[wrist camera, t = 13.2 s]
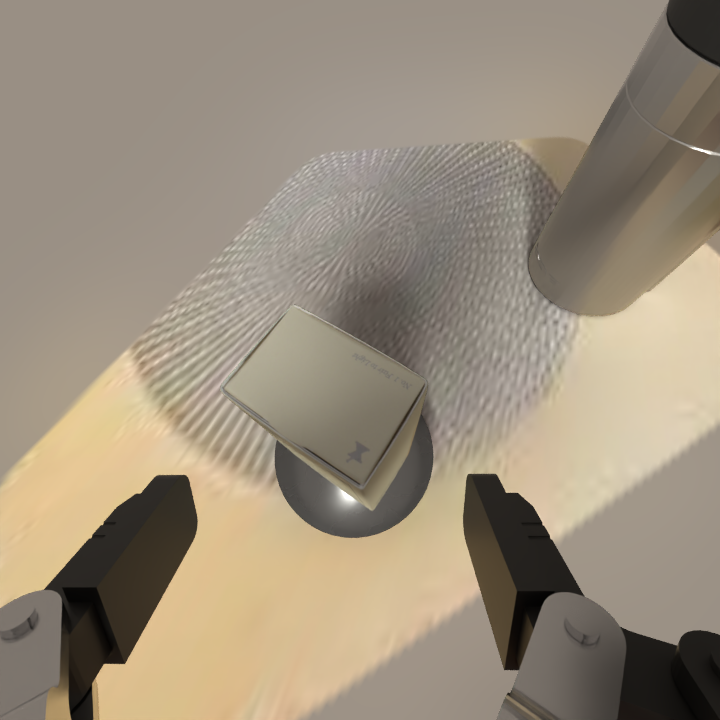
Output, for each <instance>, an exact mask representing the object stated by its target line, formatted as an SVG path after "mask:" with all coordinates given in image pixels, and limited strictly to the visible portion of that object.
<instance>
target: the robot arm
mask: <svg viewBox="0 0 720 720" xmlns="http://www.w3.org/2000/svg"><path fill="white" fill-rule="evenodd" d="M719 230H720V0H669V3H668V4H667V5H666V7H665V9H664V11H663V13H662V14H661V16H660V18H659V20H658V22H657V23H656V25H655V27H654V29H653V31H652V32H651V34H650V36H649V38H648V40H647V42H646V43H645V45H644V47H643V49H642V51H641V52H640V54H639V56H638V58H637V60H636V61H635V63H634V65H633V67H632V69H631V70H630V73H629V75H628V77H627V78H626V80H625V82H624V84H623V86H622V87H621V89H620V91H619V93H618V95H617V96H616V98H615V100H614V102H613V104H612V105H611V107H610V109H609V111H608V113H607V115H606V116H605V118H604V120H603V122H602V123H601V125H600V127H599V129H598V131H597V133H596V135H595V136H594V138H593V140H592V142H591V143H590V145H589V147H588V149H587V151H586V152H585V154H584V156H583V158H582V160H581V161H580V163H579V165H578V167H577V169H576V171H575V172H574V174H573V176H572V178H571V180H570V181H569V183H568V185H567V187H566V189H565V190H564V192H563V194H562V196H561V198H560V200H559V201H558V203H557V205H556V207H555V209H554V210H553V212H552V214H551V216H550V218H549V219H548V221H547V223H546V225H545V227H544V229H543V230H542V232H541V234H540V236H539V238H538V240H537V242H536V243H535V245H534V247H533V249H532V251H531V253H530V256H529V261H528V262H529V272H530V275H531V278H532V280H533V282H534V284H535V285H536V287H537V288H538V290H539V291H540V292H541V293H542V294H543V295H544V296H545V297H546V298H547V299H549V300H550V301H551V302H553V303H554V304H556V305H558V306H559V307H561V308H563V309H565V310H568V311H571V312H573V313H576V314H581V315H587V316H606V315H611V314H615V313H617V312H620V311H622V310H624V309H626V308H627V307H628V306H630V305H631V304H632V303H633V302H634V301H636V300H637V299H638V298H639V297H640V296H641V295H642V294H643V293H644V292H648V291H651V290H652V289H653V288H654V287H655V286H657V285H658V284H659V283H660V282H661V281H662V280H663V279H664V278H666V277H667V276H668V275H669V274H670V273H671V272H672V271H674V270H675V269H676V268H677V267H678V266H679V265H680V264H682V263H683V262H684V261H685V260H686V259H687V258H688V257H689V256H691V255H692V254H693V253H694V252H695V251H696V250H697V249H699V248H700V247H701V246H702V245H703V244H704V243H705V242H706V241H708V240H709V239H710V238H711V237H712V236H713V235H714V234H716V233H717V232H718V231H719ZM197 522H198V520H197V514H196V509H195V505H194V500H193V496H192V491H191V487H190V482H189V479H188V477H187V476H186V475H158V476H156V477H155V478H154V479H153V480H152V481H151V482H150V483H149V484H148V486H147V487H146V488H145V489H144V490H143V492H142V493H141V494H135V495H134V496H132V497H131V498H129V499H128V500H126V501H125V502H124V503H122V504H121V505H119V506H118V507H117V508H116V509H115V510H114V511H113V512H112V513H111V515H110V516H109V517H108V518H107V519H106V520H105V521H104V524H103V525H101V526H100V527H99V528H98V529H97V530H96V532H95V533H94V534H93V535H92V538H91V539H88V541H87V542H86V543H85V544H84V545H83V546H82V547H81V548H80V550H79V551H78V552H77V553H76V554H75V555H74V556H73V557H72V559H71V560H70V561H69V562H68V563H67V564H66V565H65V567H64V568H63V569H62V570H61V571H60V572H59V573H58V574H57V576H56V577H55V578H54V579H53V580H52V581H51V582H50V583H49V585H48V586H47V587H46V588H45V589H44V590H41V591H35V592H32V593H29V594H26V595H24V596H21V597H19V598H17V599H15V600H13V601H11V602H10V603H8V604H6V605H5V606H3V607H2V608H0V720H99V701H98V686H97V682H96V679H95V678H96V676H97V674H98V673H99V671H100V669H101V668H102V666H103V664H125V663H126V661H127V659H128V657H129V656H130V654H131V652H132V650H133V648H134V647H135V645H136V643H137V641H138V639H139V637H140V636H141V634H142V632H143V630H144V628H145V627H146V625H147V623H148V621H149V619H150V618H151V616H152V614H153V612H154V610H155V609H156V607H157V605H158V603H159V601H160V600H161V598H162V596H163V594H164V592H165V591H166V589H167V587H168V585H169V583H170V582H171V580H172V578H173V576H174V574H175V573H176V571H177V569H178V567H179V565H180V564H181V562H182V560H183V558H184V556H185V555H186V553H187V551H188V549H189V547H190V546H191V544H192V542H193V540H194V538H195V535H196V531H197ZM463 527H464V535H465V540H466V544H467V547H468V550H469V554H470V557H471V560H472V564H473V567H474V570H475V574H476V577H477V580H478V584H479V587H480V591H481V594H482V597H483V601H484V604H485V607H486V611H487V614H488V617H489V621H490V624H491V627H492V630H493V634H494V637H495V641H496V644H497V648H498V651H499V654H500V658H501V661H502V664H503V668H504V670H519V672H518V674H517V678H516V680H515V683H514V686H513V688H512V690H511V693H508V694H507V695H506V697H505V699H504V702H503V704H502V706H501V709H500V711H499V714H498V717H497V720H720V635H718V634H715V633H711V632H708V631H701V630H699V631H690V632H687V633H685V634H684V635H683V636H682V637H681V639H680V641H679V643H678V646H676V645H673V644H669V643H666V642H663V641H660V640H656V639H653V638H650V637H646V636H643V635H640V634H637V633H634V632H631V631H628V630H626V629H624V628H622V627H620V626H619V625H618V623H617V622H616V621H615V619H614V618H613V617H612V616H611V615H610V614H609V613H608V612H607V611H606V610H605V609H604V608H602V607H601V606H600V605H598V604H597V603H595V602H594V601H592V600H590V599H588V598H586V597H585V596H584V595H583V593H582V592H581V590H580V588H579V586H578V585H577V583H576V581H575V579H574V578H573V576H572V574H571V572H570V570H569V569H568V567H567V565H566V563H565V562H564V560H563V558H562V556H561V555H560V553H559V551H558V549H557V548H556V546H555V544H554V542H553V541H552V540H551V539H550V535H549V534H548V532H547V530H546V528H545V527H544V526H543V525H542V521H541V520H540V518H539V516H538V514H537V513H536V511H535V509H534V507H533V506H532V505H531V504H530V503H529V502H527V501H526V500H525V499H524V498H523V497H522V496H521V495H519V494H518V493H506V492H505V490H504V488H503V486H502V484H501V482H500V480H499V478H498V476H497V475H496V474H468V476H467V480H466V491H465V502H464V514H463Z"/></svg>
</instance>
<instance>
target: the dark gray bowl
mask: <svg viewBox="0 0 720 720" xmlns="http://www.w3.org/2000/svg"><path fill="white" fill-rule="evenodd" d="M432 467H433V446H432V441H431V436H430V433H429V430H428V427H427V424H426V422H425V420H424V418H423V416H422V415H421V414H420V418H419V421H418V425H417V428H416V431H415V435H414V438H413V441H412V445H411V448H410V451H409V454H408V456H407V458H406V459H405V461H404V463H403V465H402V466H401V468H400V470H399V471H398V473H397V475H396V476H395V478H394V480H393V481H392V483H391V484H390V486H389V488H388V489H387V491H386V492H385V494H384V496H383V497H382V499H381V500H380V502H379V503H378V505H377V506H376V508H375V509H374V510H373V511H372V510H370V509H368V508H367V507H365V506H364V505H362V504H361V503H359V502H358V501H357V500H355V499H354V498H352V497H351V496H349V495H348V494H347V493H345V492H344V491H342V490H341V489H340V488H338V487H337V486H336V485H334V484H333V483H331V482H330V481H329V480H327V479H326V478H325V477H323V476H322V475H321V474H319V473H318V472H317V471H315V470H314V469H313V468H311V467H310V466H309V465H307V464H306V463H305V462H304V461H302V460H301V459H300V458H298V457H297V456H296V455H295V454H293V453H292V452H291V451H290V450H289V449H288V448H286V447H285V446H284V445H283V444H282V443H280V442H279V441H278V440H277V442H276V449H275V469H276V475H277V479H278V482H279V486H280V488H281V490H282V493H283V495H284V497H285V499H286V500H287V502H288V503H289V505H290V506H291V508H292V509H293V510H294V511H295V512H296V514H298V515H299V516H300V517H301V518H302V519H303V520H304V521H305V522H307V523H308V524H310V525H311V526H313V527H314V528H316V529H318V530H320V531H322V532H325V533H328V534H331V535H334V536H340V537H347V538H359V537H367V536H371V535H375V534H378V533H381V532H383V531H386V530H388V529H390V528H392V527H393V526H395V525H396V524H398V523H400V522H401V521H402V520H403V519H404V518H406V517H407V516H408V515H409V514H410V513H411V512H412V511H413V509H414V508H415V507H416V506H417V504H418V503H419V501H420V500H421V498H422V497H423V495H424V493H425V491H426V489H427V486H428V483H429V480H430V477H431V472H432Z"/></svg>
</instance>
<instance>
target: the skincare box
mask: <svg viewBox="0 0 720 720" xmlns="http://www.w3.org/2000/svg"><path fill="white" fill-rule="evenodd" d="M427 388H428V381H427V380H426V379H424V378H423V377H421V376H420V375H418V374H417V373H415V372H414V371H412V370H410V369H409V368H407V367H406V366H404V365H403V364H401V363H399V362H397V361H396V360H394V359H392V358H391V357H389V356H387V355H386V354H384V353H382V352H380V351H379V350H377V349H375V348H374V347H372V346H370V345H368V344H367V343H365V342H363V341H361V340H359V339H357V338H356V337H354V336H352V335H350V334H349V333H347V332H345V331H344V330H341V329H340V328H338V327H336V326H334V325H332V324H331V323H329V322H327V321H325V320H323V319H321V318H320V317H318V316H316V315H314V314H312V313H311V312H309V311H307V310H305V309H303V308H301V307H299V306H297V305H292V306H290V307H289V308H288V309H287V311H286V312H285V313H284V314H283V315H282V316H281V317H280V318H279V319H278V321H277V322H276V323H275V324H274V325H273V326H272V327H271V328H270V329H269V330H268V332H267V333H266V334H265V335H264V336H263V337H262V338H261V339H260V340H259V341H258V343H257V344H256V345H255V346H254V347H253V348H252V349H251V351H250V352H249V353H248V354H247V355H246V356H245V357H244V358H243V360H242V361H241V362H240V363H239V364H238V366H237V367H236V368H235V369H234V370H233V371H232V372H231V373H230V375H229V376H228V377H227V378H226V379H225V381H224V382H223V383H222V384H221V387H220V390H221V392H222V393H223V395H225V396H226V397H227V398H228V399H229V400H230V401H232V402H233V403H234V404H235V405H236V406H238V407H239V408H240V409H241V410H242V411H244V412H245V413H246V414H247V415H248V416H250V417H251V418H252V419H253V420H254V421H255V422H257V423H258V424H259V425H260V426H261V427H263V428H264V429H265V430H266V431H267V432H269V433H270V434H271V435H272V436H273V437H274V438H276V439H277V440H278V441H279V442H280V443H282V444H283V445H284V446H285V447H286V448H288V449H289V450H290V451H291V452H292V453H293V454H295V455H296V456H297V457H298V458H300V459H301V460H302V461H304V462H305V463H306V464H307V465H309V466H310V467H311V468H313V469H314V470H315V471H317V472H318V473H319V474H321V475H322V476H323V477H325V478H326V479H327V480H329V481H330V482H331V483H333V484H334V485H336V486H337V487H338V488H340V489H341V490H342V491H344V492H345V493H347V494H348V495H349V496H351V497H352V498H354V499H355V500H357V501H358V502H359V503H361V504H362V505H364V506H365V507H367V508H368V509H370V510H372V511H373V510H374V509H375V508H376V506H377V505H378V503H379V502H380V500H381V499H382V497H383V496H384V494H385V492H386V491H387V489H388V488H389V486H390V484H391V483H392V481H393V480H394V478H395V476H396V475H397V473H398V471H399V470H400V468H401V466H402V465H403V463H404V461H405V459H406V458H407V456H408V454H409V451H410V448H411V445H412V441H413V438H414V435H415V431H416V428H417V425H418V421H419V418H420V414H421V411H422V407H423V404H424V400H425V396H426V392H427Z"/></svg>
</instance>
